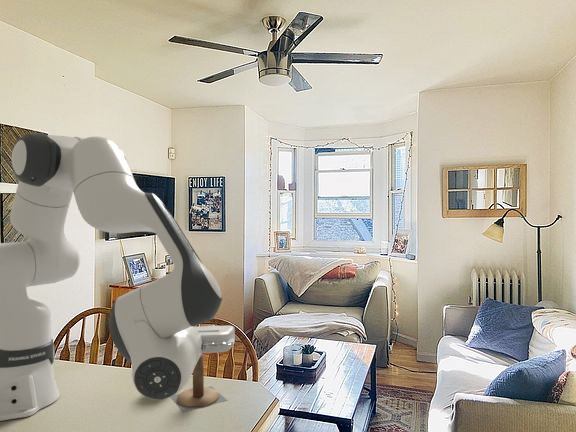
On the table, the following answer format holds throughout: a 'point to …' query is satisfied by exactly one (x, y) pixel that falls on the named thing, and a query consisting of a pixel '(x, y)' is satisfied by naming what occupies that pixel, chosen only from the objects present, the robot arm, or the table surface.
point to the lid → (198, 389)
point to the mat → (196, 407)
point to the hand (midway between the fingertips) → (190, 329)
